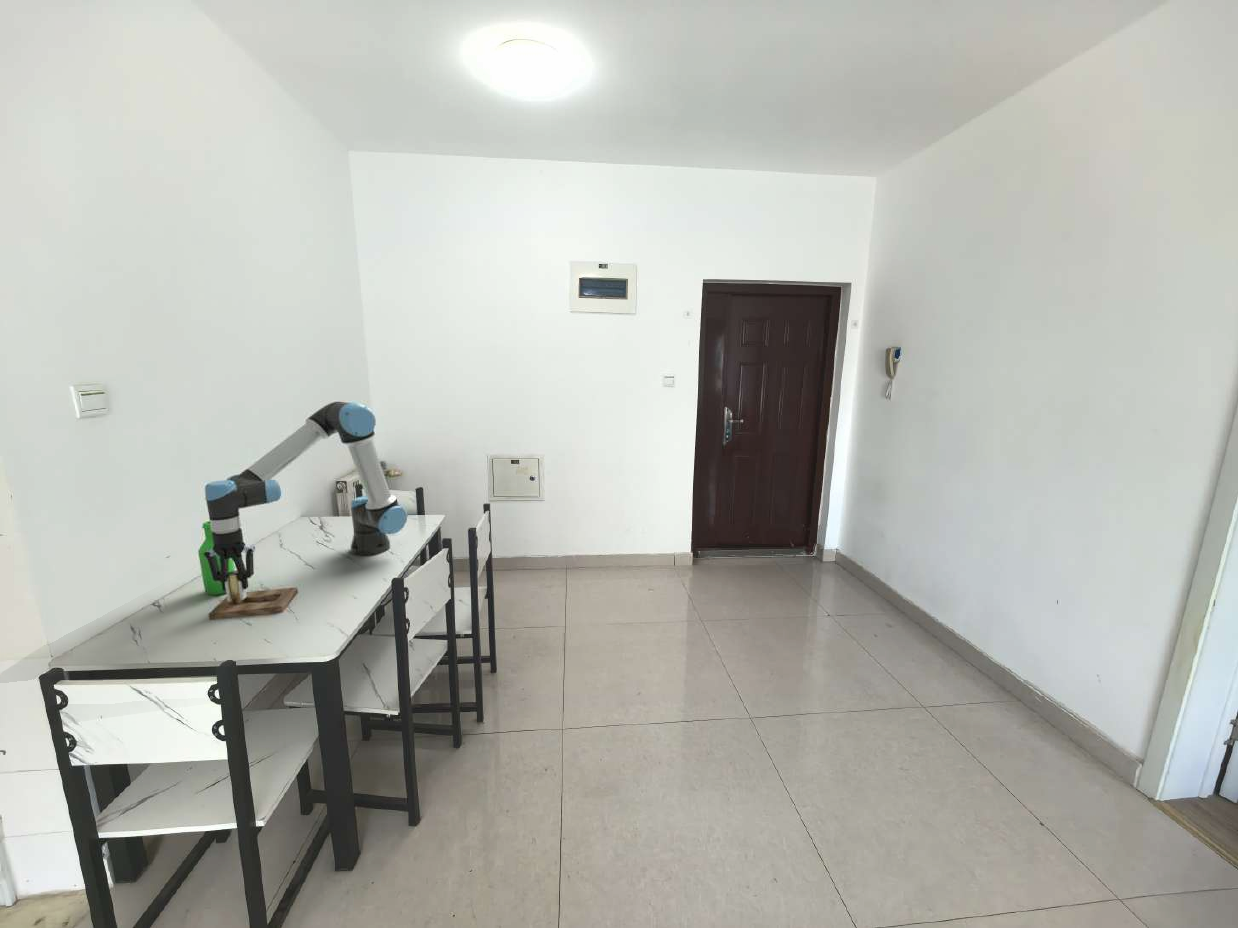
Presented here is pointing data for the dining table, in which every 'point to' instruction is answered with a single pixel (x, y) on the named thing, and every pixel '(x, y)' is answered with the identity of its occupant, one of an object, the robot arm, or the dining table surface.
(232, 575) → the peg
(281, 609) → the keyhole board
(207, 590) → the bottle
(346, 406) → the robot arm
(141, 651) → the dining table surface
